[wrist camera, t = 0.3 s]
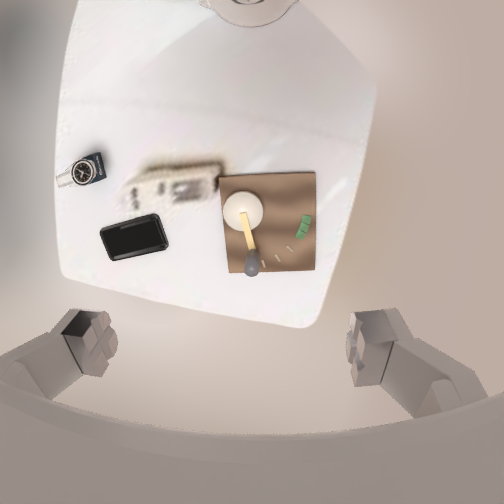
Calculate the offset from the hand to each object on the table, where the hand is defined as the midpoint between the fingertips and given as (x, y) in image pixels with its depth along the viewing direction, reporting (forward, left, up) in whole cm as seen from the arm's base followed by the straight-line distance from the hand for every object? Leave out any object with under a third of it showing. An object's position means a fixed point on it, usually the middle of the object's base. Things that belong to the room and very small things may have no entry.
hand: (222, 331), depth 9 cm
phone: (+14, -28, -47) cm, 57 cm away
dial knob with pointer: (+13, -3, -45) cm, 47 cm away
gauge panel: (+13, +1, -46) cm, 48 cm away
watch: (-2, -34, -47) cm, 58 cm away
